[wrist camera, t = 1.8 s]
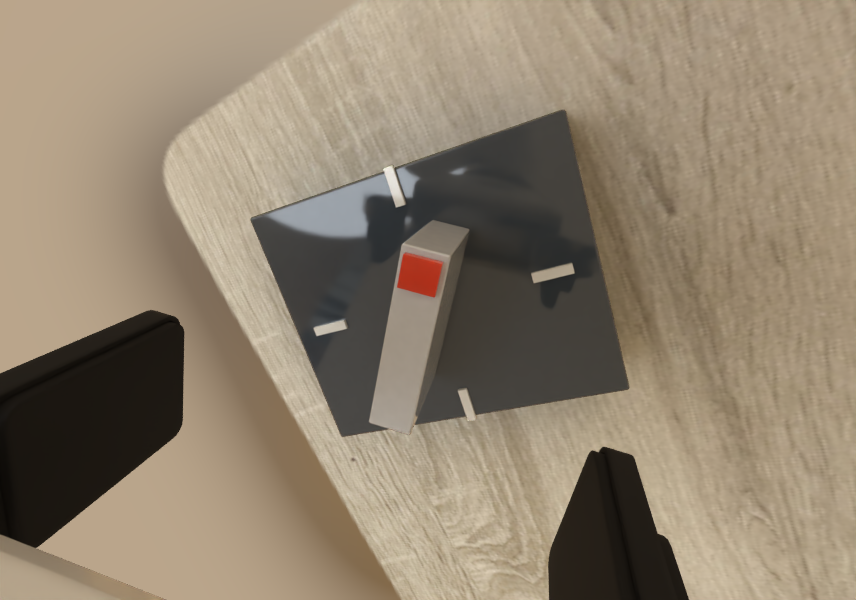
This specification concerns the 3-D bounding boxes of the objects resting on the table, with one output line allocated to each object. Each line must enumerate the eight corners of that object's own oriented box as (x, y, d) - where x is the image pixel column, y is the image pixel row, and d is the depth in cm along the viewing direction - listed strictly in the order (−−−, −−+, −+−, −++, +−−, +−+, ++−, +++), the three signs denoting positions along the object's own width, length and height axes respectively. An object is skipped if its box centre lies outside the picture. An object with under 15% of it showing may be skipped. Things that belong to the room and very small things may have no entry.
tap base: (365, 403, 23) (340, 442, 20) (286, 205, 21) (245, 216, 18) (617, 356, 20) (631, 394, 17) (560, 110, 17) (565, 104, 14)
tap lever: (435, 376, 18) (407, 440, 14) (401, 366, 19) (365, 427, 15) (470, 228, 16) (449, 258, 12) (431, 219, 16) (398, 245, 12)
